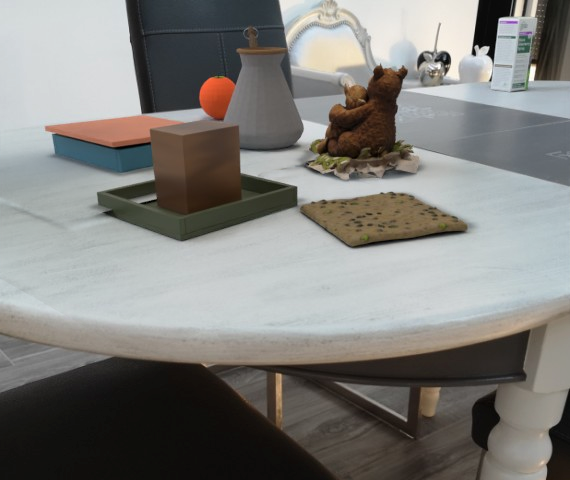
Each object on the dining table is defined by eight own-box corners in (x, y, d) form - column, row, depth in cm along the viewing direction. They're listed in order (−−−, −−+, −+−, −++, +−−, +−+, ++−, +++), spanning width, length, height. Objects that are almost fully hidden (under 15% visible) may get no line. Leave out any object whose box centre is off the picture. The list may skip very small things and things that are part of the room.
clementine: (204, 114, 120) (202, 72, 116) (243, 114, 119) (241, 72, 116) (197, 122, 113) (194, 77, 109) (238, 122, 112) (236, 77, 109)
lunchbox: (122, 179, 79) (119, 150, 77) (55, 159, 88) (51, 133, 86) (216, 159, 88) (214, 133, 86) (146, 143, 97) (144, 119, 96)
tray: (181, 241, 59) (179, 219, 58) (99, 211, 67) (96, 192, 66) (297, 205, 68) (297, 186, 67) (213, 183, 76) (212, 166, 75)
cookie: (297, 209, 66) (297, 200, 66) (403, 197, 70) (404, 188, 70) (349, 247, 57) (350, 236, 56) (470, 230, 60) (471, 220, 60)
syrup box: (510, 92, 144) (521, 17, 137) (489, 89, 148) (498, 16, 141) (527, 90, 146) (539, 16, 140) (506, 87, 151) (516, 16, 144)
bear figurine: (385, 150, 92) (391, 54, 86) (434, 175, 79) (445, 64, 73) (290, 156, 89) (290, 57, 83) (325, 183, 76) (328, 68, 70)
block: (188, 216, 64) (182, 135, 60) (157, 206, 67) (149, 128, 63) (242, 201, 68) (239, 125, 64) (210, 192, 71) (205, 119, 68)
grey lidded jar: (310, 156, 89) (311, 32, 82) (224, 159, 88) (217, 33, 80) (288, 128, 107) (288, 24, 100) (217, 130, 106) (212, 25, 99)
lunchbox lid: (112, 147, 76) (112, 142, 76) (45, 130, 86) (44, 126, 85) (214, 132, 86) (214, 127, 86) (144, 119, 96) (143, 115, 95)
